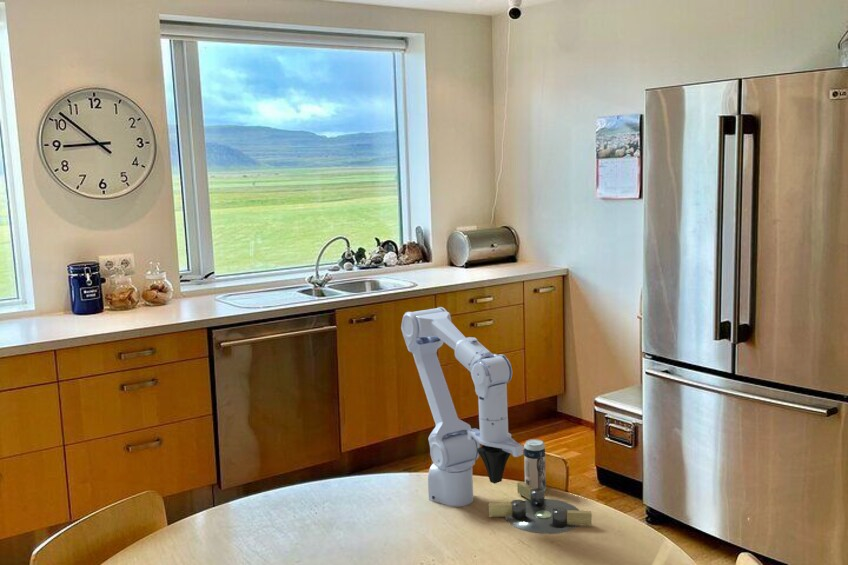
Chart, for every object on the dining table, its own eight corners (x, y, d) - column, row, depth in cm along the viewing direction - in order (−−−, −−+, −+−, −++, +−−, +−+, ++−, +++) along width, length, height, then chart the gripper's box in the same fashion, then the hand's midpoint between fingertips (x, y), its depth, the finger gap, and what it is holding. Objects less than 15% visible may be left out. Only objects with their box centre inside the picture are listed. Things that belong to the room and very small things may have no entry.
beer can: (545, 498, 169) (544, 446, 168) (524, 497, 170) (522, 445, 169) (546, 489, 174) (545, 438, 172) (525, 488, 175) (524, 438, 173)
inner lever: (524, 511, 160) (524, 499, 160) (527, 518, 157) (526, 505, 157) (488, 513, 160) (487, 501, 159) (489, 520, 157) (489, 507, 157)
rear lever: (547, 504, 163) (547, 491, 163) (536, 507, 162) (536, 495, 161) (525, 491, 170) (524, 480, 169) (514, 495, 168) (514, 483, 168)
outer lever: (552, 527, 153) (552, 513, 152) (552, 520, 156) (552, 507, 155) (591, 528, 152) (591, 515, 151) (591, 521, 155) (590, 508, 154)
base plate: (492, 529, 156) (492, 522, 156) (522, 498, 170) (522, 492, 169) (568, 545, 148) (567, 538, 148) (592, 512, 162) (592, 505, 161)
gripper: (533, 419, 149) (535, 486, 151) (484, 404, 160) (487, 466, 162) (506, 428, 145) (509, 496, 147) (458, 412, 156) (461, 475, 158)
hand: (495, 481), depth 154 cm, fingers closed
